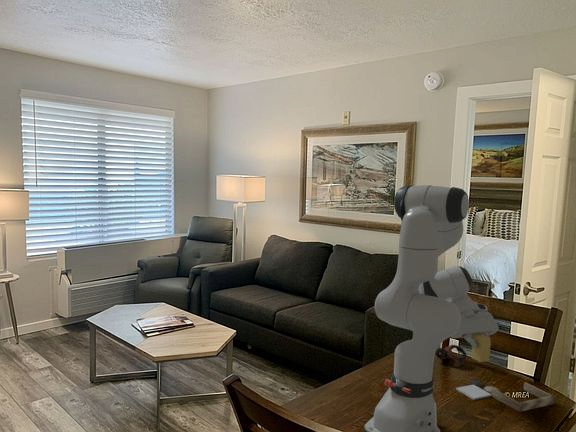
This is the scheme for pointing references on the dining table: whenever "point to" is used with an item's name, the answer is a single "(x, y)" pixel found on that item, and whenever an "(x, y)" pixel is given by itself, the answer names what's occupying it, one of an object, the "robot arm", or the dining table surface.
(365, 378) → the dining table surface
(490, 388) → the painted circle
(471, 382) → the hole disc
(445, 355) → the pottery mug
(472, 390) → the pad
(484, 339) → the ochre block
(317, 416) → the dining table surface
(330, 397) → the dining table surface
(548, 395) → the cubby
